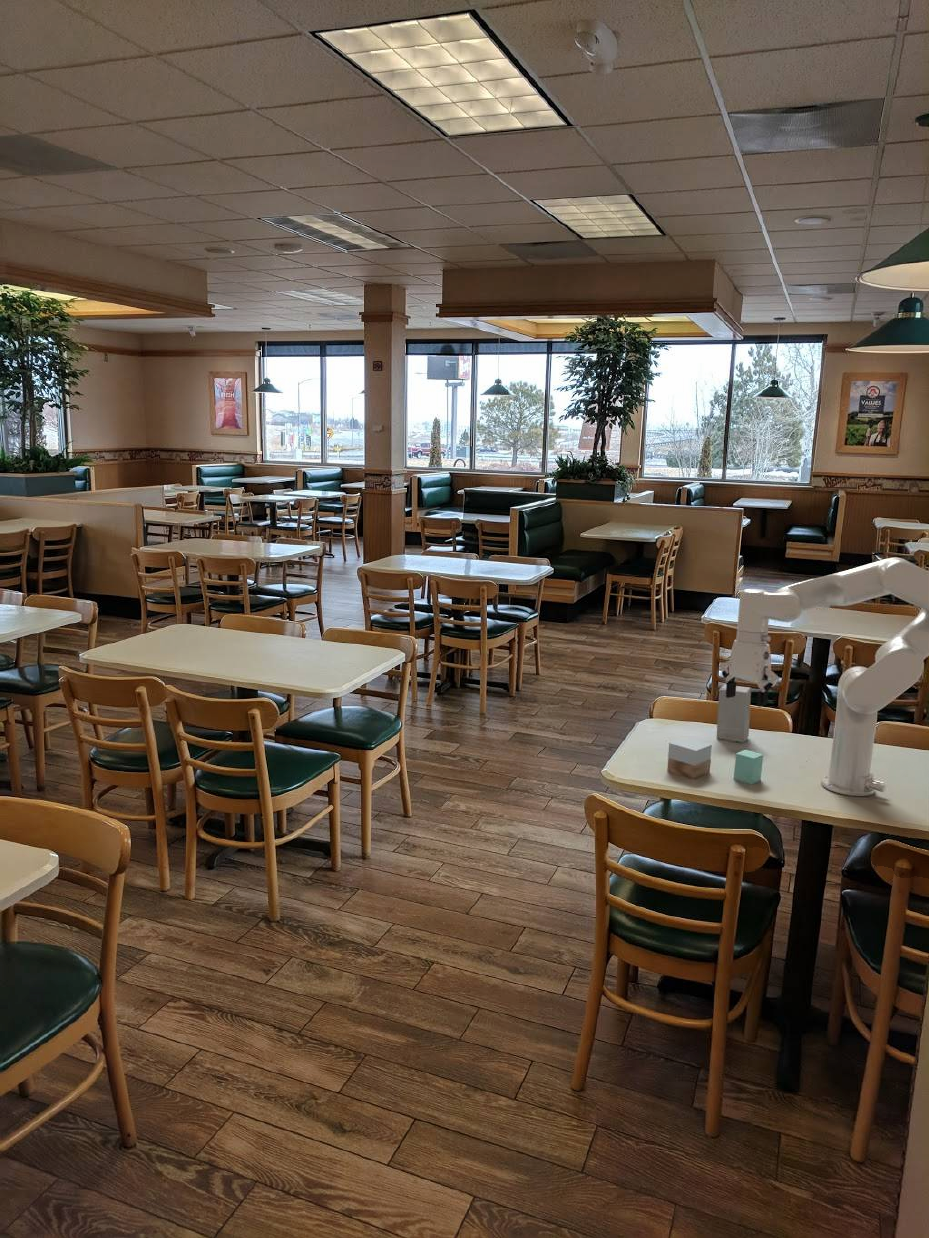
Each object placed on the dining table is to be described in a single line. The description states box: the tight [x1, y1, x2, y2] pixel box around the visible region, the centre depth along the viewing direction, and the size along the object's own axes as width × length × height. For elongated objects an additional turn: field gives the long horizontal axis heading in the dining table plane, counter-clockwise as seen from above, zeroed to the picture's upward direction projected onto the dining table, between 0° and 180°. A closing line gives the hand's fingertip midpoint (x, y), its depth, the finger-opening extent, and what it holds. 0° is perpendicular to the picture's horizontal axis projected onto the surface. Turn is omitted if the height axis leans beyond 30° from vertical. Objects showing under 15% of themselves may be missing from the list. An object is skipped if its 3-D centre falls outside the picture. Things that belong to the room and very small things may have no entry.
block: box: [733, 749, 764, 785], centre depth 231 cm, size 5×5×7 cm
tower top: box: [667, 736, 713, 766], centre depth 235 cm, size 8×8×4 cm
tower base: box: [666, 757, 712, 780], centre depth 236 cm, size 8×8×4 cm
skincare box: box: [716, 683, 752, 744], centre depth 265 cm, size 8×7×16 cm
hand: (745, 701), depth 232 cm, fingers open, 9 cm apart
